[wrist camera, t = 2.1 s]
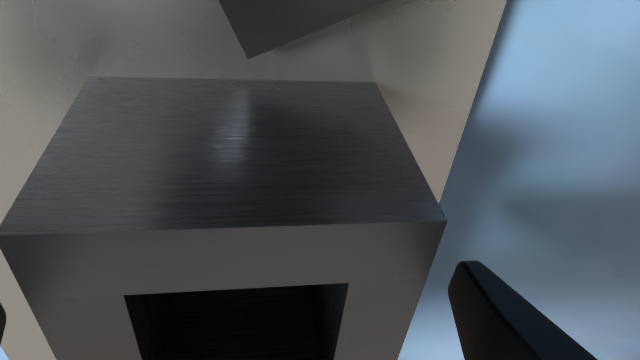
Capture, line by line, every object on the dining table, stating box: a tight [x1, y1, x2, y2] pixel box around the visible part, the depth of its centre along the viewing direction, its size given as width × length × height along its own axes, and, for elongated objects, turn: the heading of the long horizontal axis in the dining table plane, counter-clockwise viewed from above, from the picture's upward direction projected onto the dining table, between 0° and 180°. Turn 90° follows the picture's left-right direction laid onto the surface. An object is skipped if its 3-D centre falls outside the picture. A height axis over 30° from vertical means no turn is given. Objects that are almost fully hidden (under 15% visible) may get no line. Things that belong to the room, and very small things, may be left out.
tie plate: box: [0, 0, 507, 360], centre depth 12 cm, size 13×21×4 cm, turn 175°
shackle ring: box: [0, 76, 447, 360], centre depth 10 cm, size 6×6×4 cm
